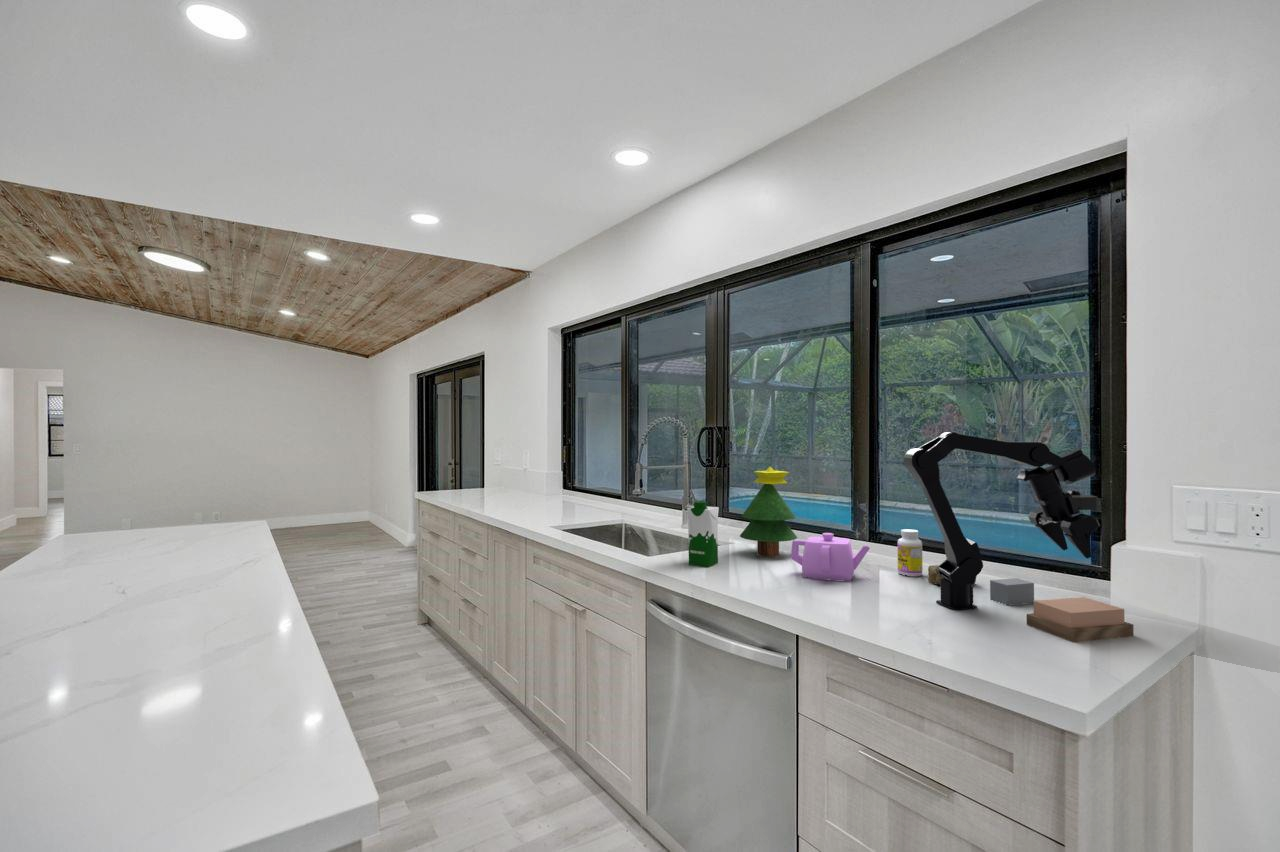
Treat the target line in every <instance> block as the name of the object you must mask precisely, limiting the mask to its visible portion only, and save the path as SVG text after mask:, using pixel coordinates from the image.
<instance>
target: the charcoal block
mask: <svg viewBox="0 0 1280 852" xmlns="http://www.w3.org/2000/svg"><path fill="white" fill-rule="evenodd" d="M989 581H990V582H989V590H990V592H989V598H990V599H989V600H990V601H992V600H993V601H992V602H995V601H996V603H998V602H1000V603H999V604H1001V603H1003V604H1002V605H1004V604H1006V605H1005V606H1011V605H1010V604H1018V605H1023V604H1022V603H1029V604H1033V601H1035V583H1034V582H1032V581H1028V580H1024V579H1020V578H1017V577H1013V578H1002V579H1001V578H1000V579H992V580H991V579H990V580H989Z"/></svg>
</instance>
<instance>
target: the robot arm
mask: <svg viewBox="0 0 1280 852" xmlns="http://www.w3.org/2000/svg"><path fill="white" fill-rule="evenodd" d="M954 450H959V451H966V452H972V453H978V454H984V455H991V456H994V457H995V456H997V457H1000V458H1003V459H1005V460H1007V461H1010V462H1012V463H1015V464H1018V465H1021V466H1027V467H1028V466H1029V467H1034V468H1032V469H1029V470H1028V469H1020V473H1019V474H1018V476H1017V477H1016V480H1017V481H1021V482H1028V483H1029V485H1030V487H1031V489H1032V491H1033V493H1034V496H1035V498H1033V502H1034V503H1035V504H1038V505H1039V507H1040V508H1036V509H1034V510H1032V511H1030V512H1029V514H1028V520H1029V521H1030V524H1032V525H1034V527H1036V528H1037V529H1038V530H1039V531H1041V532H1042V533H1043V534H1044V535H1045V536H1047V538H1049V539H1050V541H1052V542H1053V543H1054V544H1056V546H1057V547H1059V548H1060V549H1061V550H1062V551H1066V550H1068V549H1069V548H1068V544H1067V540H1068V542H1070V543H1071V544H1072V546H1074V547H1075V549H1076V550H1077V551H1078V553H1080V554H1081V555H1082V556H1083V557H1084V558H1085V559H1091V557H1092V547H1091V545H1092V544H1091V542H1092V541H1091V536H1092V534H1093V532H1095V531H1097V529H1098V528H1100V526H1101V524H1100V522H1099V520H1098V518H1097V517H1096V516H1093V515H1090V514H1086V513H1081V511H1086V510H1087V511H1094V512H1095V511H1096V512H1097V511H1099V502H1098V500H1099V499H1098V496H1095V495H1090V494H1082V493H1081V492H1080V491H1079V490H1074V489H1072V490H1070V489H1069V490H1067V491H1064V488H1063V487H1062V484H1061V483H1065V484H1067V485H1071V484H1074V483H1078V482H1080V481H1082V480H1085V479H1089V478H1090V477H1094V476H1095V475H1096V474H1097V473H1096V471H1097V470H1096V466H1095V463H1094V462H1092V461H1091V459H1090V458H1089V457H1088V456H1087V455H1085V454H1084V453H1083V451H1082V450H1081V449H1073V450H1071V451H1069V452H1068V453H1065V454H1062V455H1060V456H1059V455H1058V454H1056V453H1054V452H1052V451H1051V450H1050V448H1049V447H1048V445H1047V444H1046V443H1045V442H1044V443H1043V442H1040V441H1039V442H1038V441H1004V440H997V439H992V438H985V437H979V436H974V435H973V436H972V435H965V434H962V433H961V434H960V433H957V432H956V431H955V432H952V431H951V432H950V431H946V432H943V433H941V434H940V435H939V436H937V437H935V438H934V439H932V440H930V441H928V442H926V443H925V444H923V445H921V446H919V447H918V448H916V447H915V448H910V449H909V450H907V452H906V453H904V456H903V464H904V467H906V469H907V471H908V472H909V473H910V475H911V476H912V478H914V481H916V482H917V483H918V484H919V486H920V488H921V489H922V492H923V494H924V496H925V499H926V501H927V503H928V506H929V508H930V510H931V512H932V514H933V517H934V519H935V521H936V524H937V526H938V528H939V530H940V532H941V535H942V538H943V540H944V553H945V557H946V558H945V560H944V561H943V562H942V563H940V564H939V566H938V567H937V570H938V572H939V575H940V576H942V577H944V578H943V579H940V584H941V585H940V599H937V600H936V601H935V603H936V604H938V605H941V606H943V607H946V608H949V609H951V610H955V611H959V610H969V609H972V610H973V609H978V605H976V604H974V586H973V584H974V582H975V579H976V580H977V576H978V575H979V574H980V573H981V572H982V570H983V569H984V562H983V560H985V557H984V555H982V553H981V552H980V547H979V545H978V542H976V541H973V540H972V539H969V538H967V537H965V535H964V533H963V530H962V529H961V526H960V524H959V522H958V519H957V518H956V515H955V513H954V511H953V508H952V506H951V503H950V502H949V500H948V497H947V494H946V492H945V491H944V490H945V489H944V487H943V485H942V484H941V483H942V482H941V473H940V471H941V470H940V467H939V462H941V461H942V460H944V459H945V458H946V457H947V456H948V455H950V453H952V452H953V451H954ZM1044 465H1049V466H1047V467H1043V466H1044ZM1073 515H1074V516H1073ZM975 583H976V582H975ZM974 585H975V584H974Z"/></svg>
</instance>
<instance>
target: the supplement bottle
mask: <svg viewBox="0 0 1280 852" xmlns="http://www.w3.org/2000/svg"><path fill="white" fill-rule="evenodd" d="M900 535H901V538H899V539H897V573H898V574H900V575H901V574H902V576H905V575H907V576H906V577H921V576H922V575H923V542H922V539H921V540H920V538H919V531H918V530H917V529H910V528H909V529H908V528H907V529H906V528H905V529H900Z"/></svg>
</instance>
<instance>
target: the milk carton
mask: <svg viewBox="0 0 1280 852" xmlns="http://www.w3.org/2000/svg"><path fill="white" fill-rule="evenodd" d="M707 503H708V502H707V501H704V500H696V501H693V506H691V507H687V508H686V510H687V511H686V512H687V518H688V519H687V520H688V521H687V522H688V566H689V565H690V566H696V567H702V568H703V567H704V568H710V567H712V566H714V565H717V564H719V551H718V549H719V542H718V541H719V540H718V539H719V537H718V536H719V535H718V534H719V533H718V530H719V529H718V527H719V525H718V524H719V523H718V519H719V509H720V508H719V507H718V506H708V504H707Z"/></svg>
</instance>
